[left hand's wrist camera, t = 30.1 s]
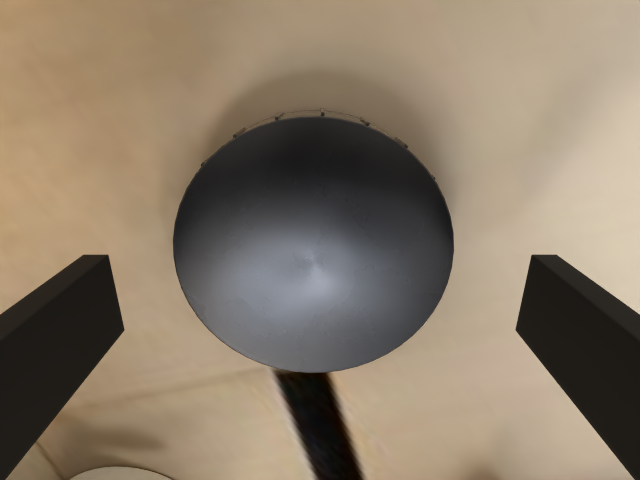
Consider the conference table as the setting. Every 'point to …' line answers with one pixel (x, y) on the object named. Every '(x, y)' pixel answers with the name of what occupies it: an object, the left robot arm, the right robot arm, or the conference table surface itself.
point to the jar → (119, 474)
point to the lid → (313, 242)
